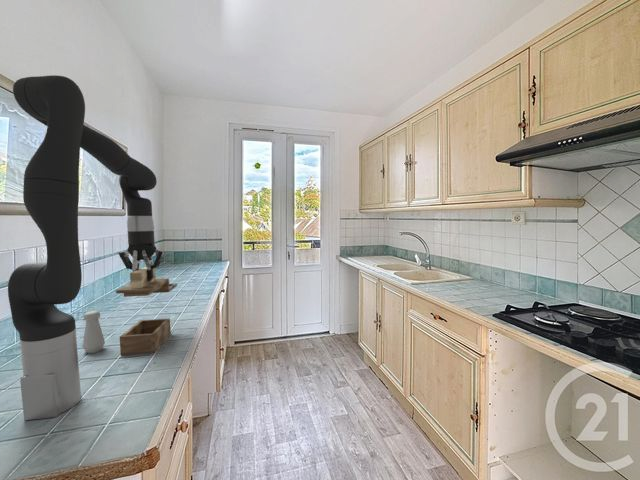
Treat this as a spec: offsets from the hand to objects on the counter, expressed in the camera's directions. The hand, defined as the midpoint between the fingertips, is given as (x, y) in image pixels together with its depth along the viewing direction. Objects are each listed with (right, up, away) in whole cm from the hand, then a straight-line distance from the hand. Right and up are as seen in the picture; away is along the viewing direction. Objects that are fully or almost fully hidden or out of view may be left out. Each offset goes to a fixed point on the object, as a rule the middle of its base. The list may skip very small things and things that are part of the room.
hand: (143, 280), depth 98 cm
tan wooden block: (-1, -6, +6) cm, 8 cm away
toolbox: (0, -22, +2) cm, 22 cm away
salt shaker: (-15, -23, -3) cm, 27 cm away
